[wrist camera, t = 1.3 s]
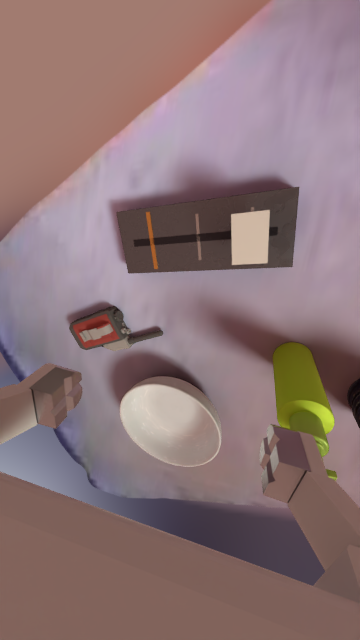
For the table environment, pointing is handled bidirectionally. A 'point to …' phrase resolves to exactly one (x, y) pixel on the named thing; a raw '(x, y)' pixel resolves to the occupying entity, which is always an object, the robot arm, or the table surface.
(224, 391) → the table surface
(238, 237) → the fader knob
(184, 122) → the table surface
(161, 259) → the fader panel
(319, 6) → the table surface
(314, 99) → the table surface
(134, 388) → the serving bowl
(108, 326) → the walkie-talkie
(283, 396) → the soap dispenser
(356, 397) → the black ridged cylinder
